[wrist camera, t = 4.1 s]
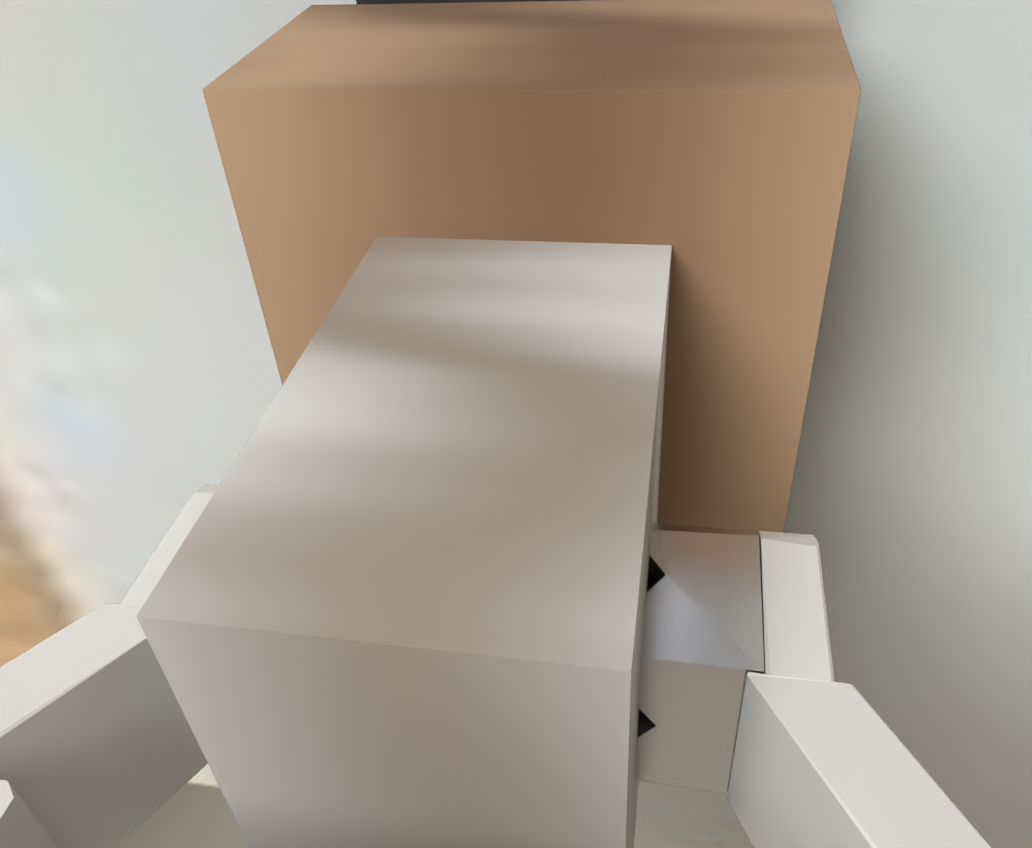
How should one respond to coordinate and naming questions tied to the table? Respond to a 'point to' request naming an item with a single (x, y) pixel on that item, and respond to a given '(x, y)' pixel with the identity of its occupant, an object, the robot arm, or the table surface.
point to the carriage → (495, 395)
